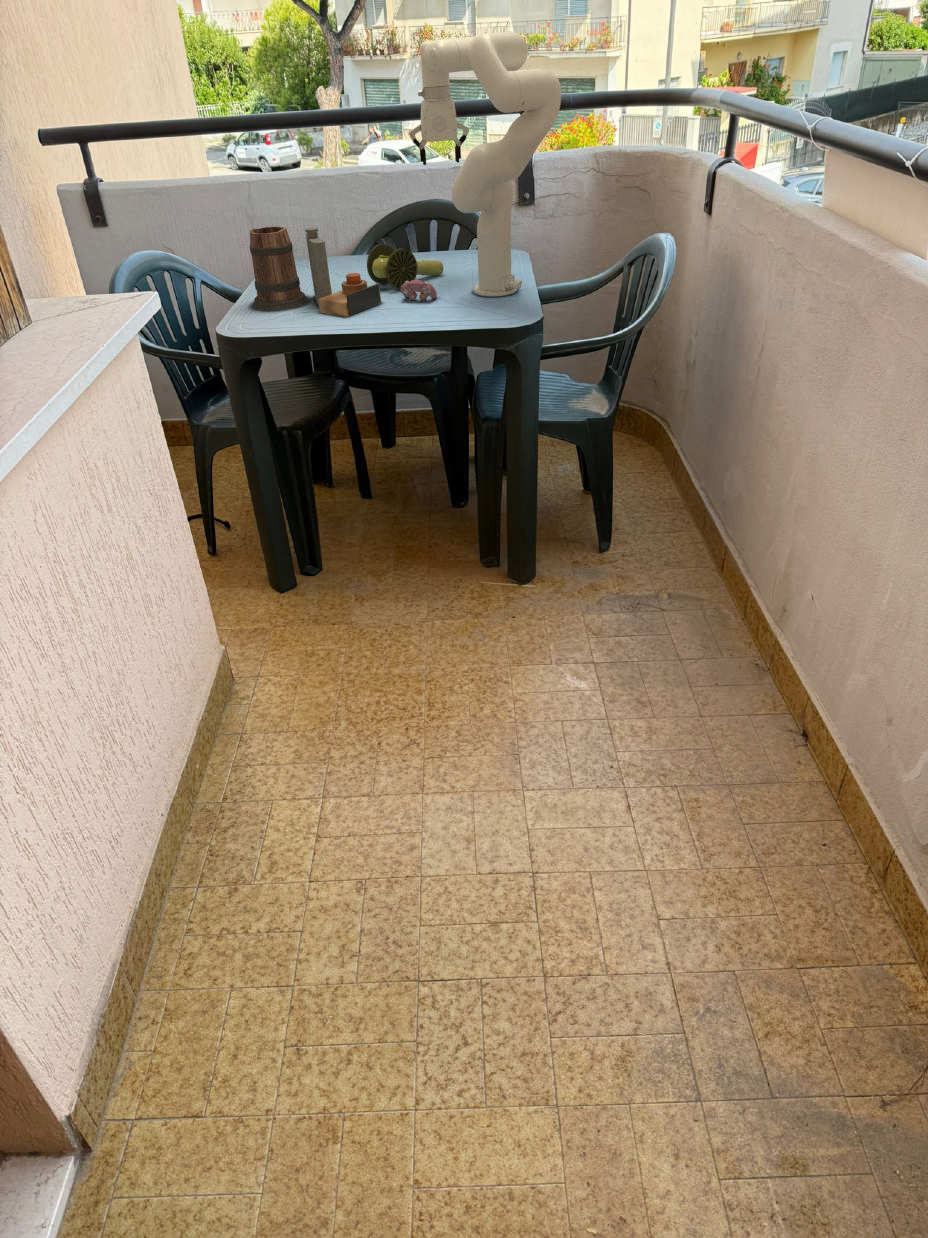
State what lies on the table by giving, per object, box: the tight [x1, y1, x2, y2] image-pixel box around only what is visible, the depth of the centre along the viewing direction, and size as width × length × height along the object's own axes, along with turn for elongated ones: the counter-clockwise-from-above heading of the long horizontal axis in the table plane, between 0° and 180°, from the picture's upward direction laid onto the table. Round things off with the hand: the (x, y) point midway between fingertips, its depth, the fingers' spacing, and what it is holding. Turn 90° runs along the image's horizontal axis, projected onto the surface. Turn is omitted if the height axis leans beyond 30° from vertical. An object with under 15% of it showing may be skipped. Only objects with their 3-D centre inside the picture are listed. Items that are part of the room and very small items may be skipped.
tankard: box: [249, 225, 310, 312], centre depth 243 cm, size 24×17×20 cm
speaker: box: [318, 279, 382, 318], centre depth 236 cm, size 10×15×6 cm, turn 144°
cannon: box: [366, 243, 444, 291], centre depth 254 cm, size 25×12×11 cm, turn 129°
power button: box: [345, 272, 362, 285], centre depth 237 cm, size 4×4×2 cm
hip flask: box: [304, 226, 333, 306], centre depth 239 cm, size 16×4×20 cm, turn 17°
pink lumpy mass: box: [399, 279, 438, 302], centre depth 240 cm, size 10×5×7 cm, turn 73°
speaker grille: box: [346, 283, 382, 316], centre depth 234 cm, size 1×13×5 cm, turn 144°
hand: (441, 162), depth 243 cm, fingers open, 9 cm apart
